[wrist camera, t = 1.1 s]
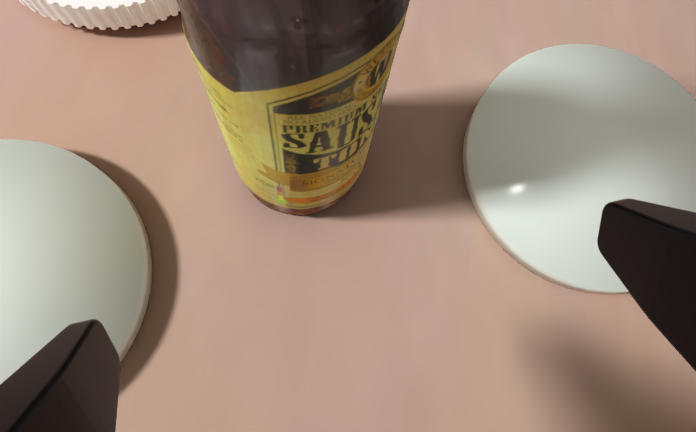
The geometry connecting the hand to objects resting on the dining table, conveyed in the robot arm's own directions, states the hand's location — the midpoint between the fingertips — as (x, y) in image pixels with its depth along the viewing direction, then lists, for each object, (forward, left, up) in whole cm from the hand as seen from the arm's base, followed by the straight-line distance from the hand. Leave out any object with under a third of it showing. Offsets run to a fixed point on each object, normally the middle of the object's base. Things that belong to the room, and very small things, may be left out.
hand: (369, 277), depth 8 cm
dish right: (-7, -13, -14) cm, 20 cm away
